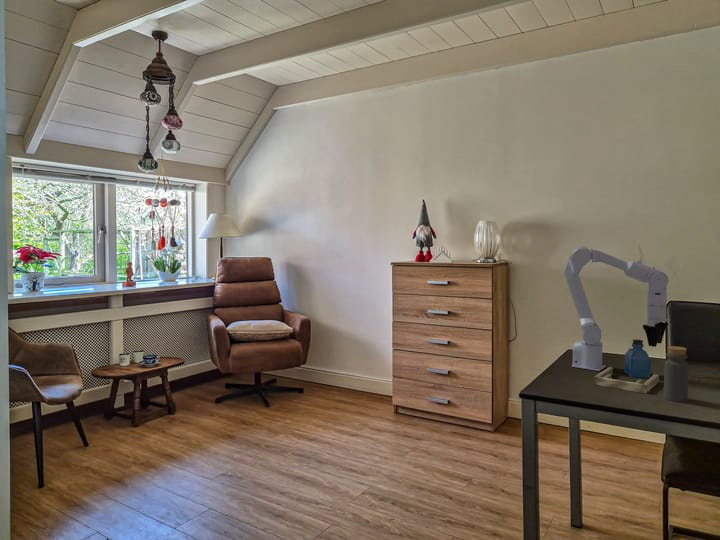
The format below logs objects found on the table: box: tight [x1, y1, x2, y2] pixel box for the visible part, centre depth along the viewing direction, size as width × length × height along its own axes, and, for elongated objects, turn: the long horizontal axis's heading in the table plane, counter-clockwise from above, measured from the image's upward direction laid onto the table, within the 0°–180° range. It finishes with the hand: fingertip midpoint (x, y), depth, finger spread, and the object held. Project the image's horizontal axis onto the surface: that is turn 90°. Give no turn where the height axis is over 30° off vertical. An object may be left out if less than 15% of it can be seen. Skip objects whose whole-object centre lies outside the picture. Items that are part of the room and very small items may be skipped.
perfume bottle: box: [623, 339, 652, 379], centre depth 170 cm, size 6×6×12 cm
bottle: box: [663, 345, 690, 403], centre depth 143 cm, size 6×6×15 cm
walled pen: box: [593, 366, 660, 394], centre depth 160 cm, size 15×17×2 cm
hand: (655, 344), depth 171 cm, fingers open, 7 cm apart
